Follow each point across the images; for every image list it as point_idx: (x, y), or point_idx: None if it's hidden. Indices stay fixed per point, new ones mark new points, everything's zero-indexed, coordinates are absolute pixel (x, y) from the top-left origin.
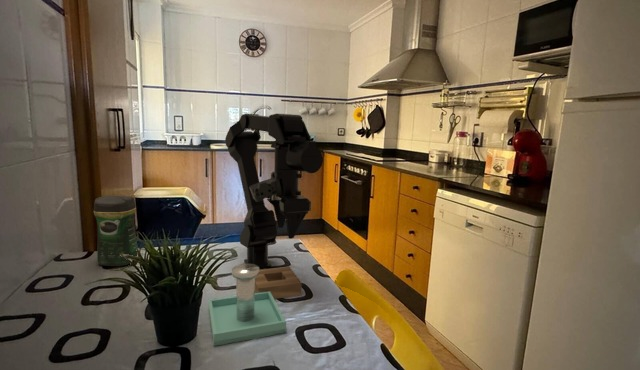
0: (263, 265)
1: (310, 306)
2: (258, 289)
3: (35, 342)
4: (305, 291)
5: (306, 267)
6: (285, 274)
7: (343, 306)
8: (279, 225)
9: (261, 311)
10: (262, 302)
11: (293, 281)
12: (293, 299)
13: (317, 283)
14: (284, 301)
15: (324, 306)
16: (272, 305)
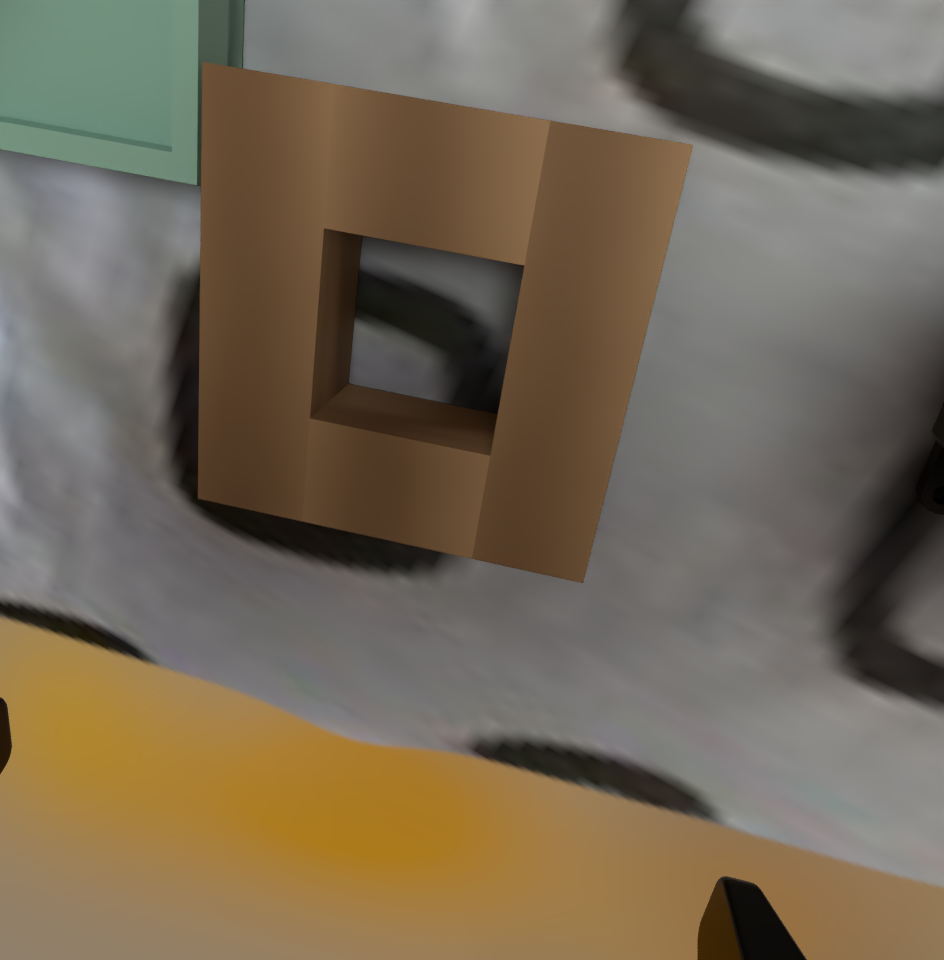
0: (940, 423)
1: (68, 424)
2: (207, 65)
3: None
4: None
5: (703, 745)
6: (416, 460)
7: (19, 599)
8: (723, 925)
9: (4, 4)
10: (152, 76)
11: (240, 449)
12: None
13: (379, 650)
14: (191, 290)
15: (46, 503)
16: (22, 122)
